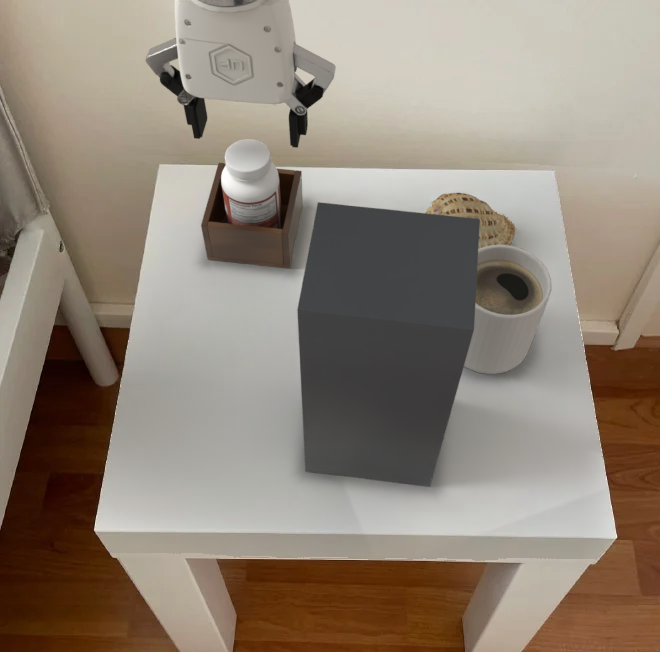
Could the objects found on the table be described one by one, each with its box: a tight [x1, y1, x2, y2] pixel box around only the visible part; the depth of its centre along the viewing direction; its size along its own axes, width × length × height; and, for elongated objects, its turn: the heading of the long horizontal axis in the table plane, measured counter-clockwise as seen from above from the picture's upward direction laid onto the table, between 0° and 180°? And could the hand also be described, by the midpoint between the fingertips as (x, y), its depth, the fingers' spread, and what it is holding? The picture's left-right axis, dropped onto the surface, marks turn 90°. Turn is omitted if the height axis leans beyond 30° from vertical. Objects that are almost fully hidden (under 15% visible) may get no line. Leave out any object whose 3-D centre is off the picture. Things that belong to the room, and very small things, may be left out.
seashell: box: [424, 192, 516, 249], centre depth 90 cm, size 8×6×10 cm
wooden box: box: [200, 162, 304, 269], centre depth 90 cm, size 9×9×6 cm
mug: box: [464, 245, 553, 375], centre depth 81 cm, size 11×10×10 cm
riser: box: [296, 201, 480, 488], centre depth 68 cm, size 12×10×26 cm
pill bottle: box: [221, 138, 282, 229], centre depth 87 cm, size 6×6×11 cm
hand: (248, 133), depth 80 cm, fingers open, 9 cm apart
